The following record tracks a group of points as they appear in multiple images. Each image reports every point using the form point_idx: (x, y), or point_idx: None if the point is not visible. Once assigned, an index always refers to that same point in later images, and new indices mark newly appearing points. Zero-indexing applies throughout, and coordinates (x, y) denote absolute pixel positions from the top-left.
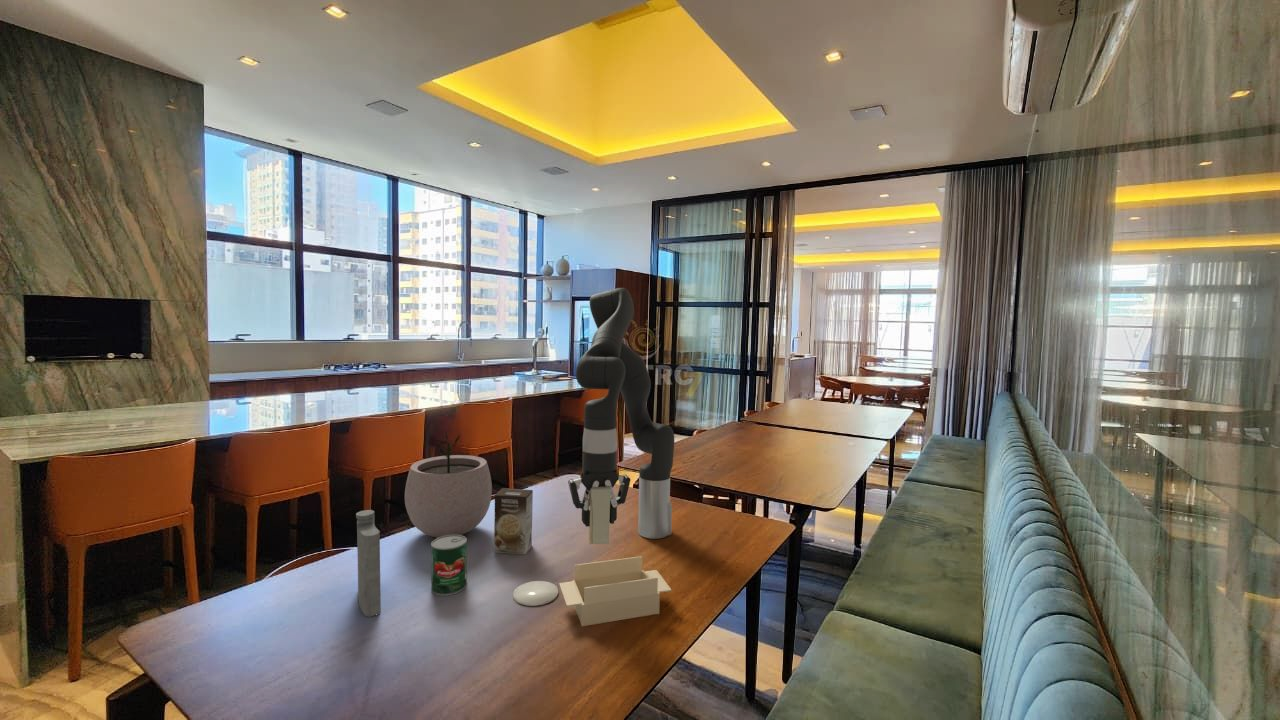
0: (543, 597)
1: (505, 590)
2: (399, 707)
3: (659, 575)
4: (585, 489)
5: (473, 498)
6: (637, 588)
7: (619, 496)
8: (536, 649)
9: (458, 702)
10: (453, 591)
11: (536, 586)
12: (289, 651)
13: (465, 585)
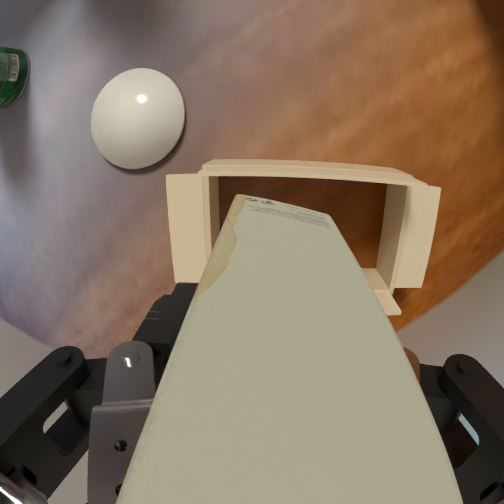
0: (147, 147)
1: (82, 93)
2: (30, 334)
3: (433, 218)
4: (89, 449)
5: None
6: None
7: (452, 408)
8: (137, 303)
9: None
10: (11, 102)
11: (137, 94)
12: None
13: (25, 79)
